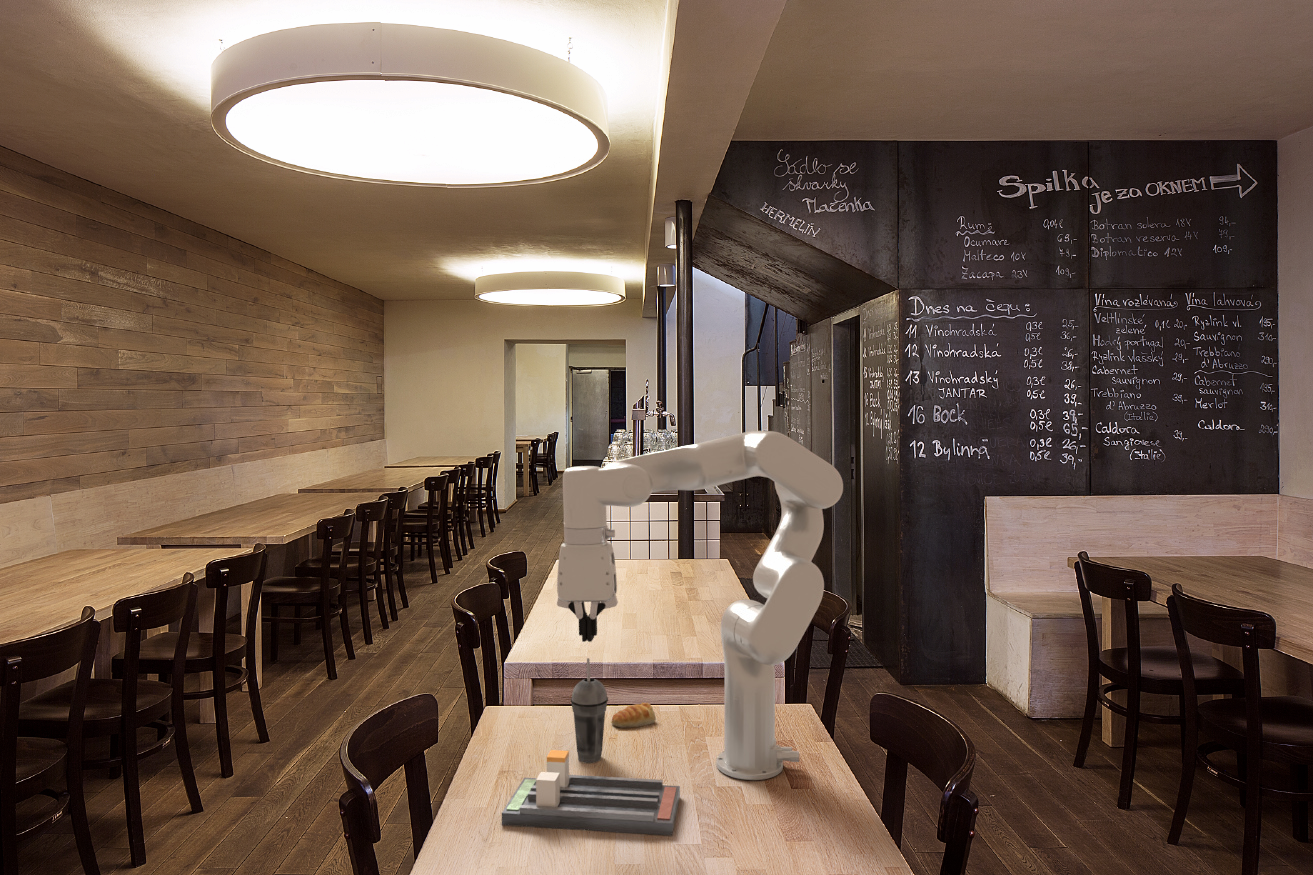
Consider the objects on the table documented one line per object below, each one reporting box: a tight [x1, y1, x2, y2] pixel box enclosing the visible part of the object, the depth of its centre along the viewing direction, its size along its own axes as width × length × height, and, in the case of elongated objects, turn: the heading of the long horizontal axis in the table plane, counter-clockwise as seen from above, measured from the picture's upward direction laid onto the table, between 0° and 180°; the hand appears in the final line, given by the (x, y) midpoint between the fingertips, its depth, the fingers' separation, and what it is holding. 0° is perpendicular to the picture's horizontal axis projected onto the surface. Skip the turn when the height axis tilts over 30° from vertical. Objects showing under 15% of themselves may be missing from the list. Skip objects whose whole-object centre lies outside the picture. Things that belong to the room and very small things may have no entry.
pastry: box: [611, 702, 657, 729], centre depth 176 cm, size 9×7×4 cm
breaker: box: [536, 771, 560, 807], centre depth 134 cm, size 3×3×5 cm
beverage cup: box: [570, 657, 609, 764], centre depth 157 cm, size 7×7×20 cm
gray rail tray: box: [501, 774, 681, 836], centre depth 136 cm, size 28×13×3 cm, turn 83°
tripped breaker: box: [546, 749, 570, 787], centre depth 141 cm, size 3×3×6 cm
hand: (588, 639), depth 143 cm, fingers closed
